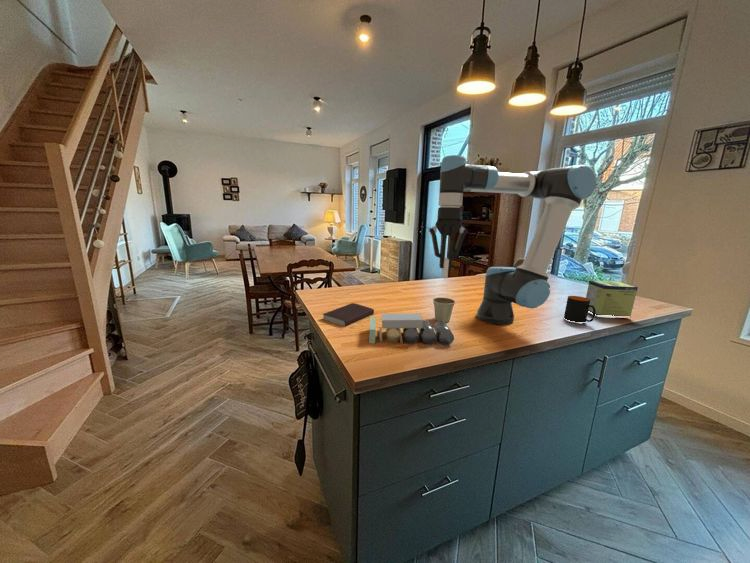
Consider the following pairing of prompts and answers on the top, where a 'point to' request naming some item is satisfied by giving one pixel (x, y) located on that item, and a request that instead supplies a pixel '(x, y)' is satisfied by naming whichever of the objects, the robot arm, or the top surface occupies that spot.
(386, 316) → the slab
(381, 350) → the top surface
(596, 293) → the protein box
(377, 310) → the top surface
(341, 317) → the book
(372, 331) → the stop fence
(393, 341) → the roller
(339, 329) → the top surface
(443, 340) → the roller track
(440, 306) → the flower pot
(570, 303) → the mug
